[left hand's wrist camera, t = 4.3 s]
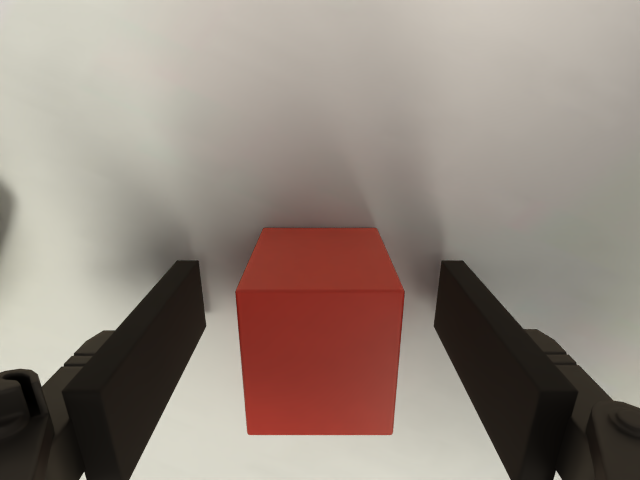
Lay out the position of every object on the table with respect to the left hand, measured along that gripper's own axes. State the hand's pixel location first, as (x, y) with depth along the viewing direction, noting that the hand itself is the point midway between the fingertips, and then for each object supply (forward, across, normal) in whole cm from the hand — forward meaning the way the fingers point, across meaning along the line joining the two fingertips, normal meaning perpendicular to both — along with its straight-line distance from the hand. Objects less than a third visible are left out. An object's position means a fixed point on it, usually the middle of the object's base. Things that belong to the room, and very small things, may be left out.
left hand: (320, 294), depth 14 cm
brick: (+1, 0, 0) cm, 1 cm away
